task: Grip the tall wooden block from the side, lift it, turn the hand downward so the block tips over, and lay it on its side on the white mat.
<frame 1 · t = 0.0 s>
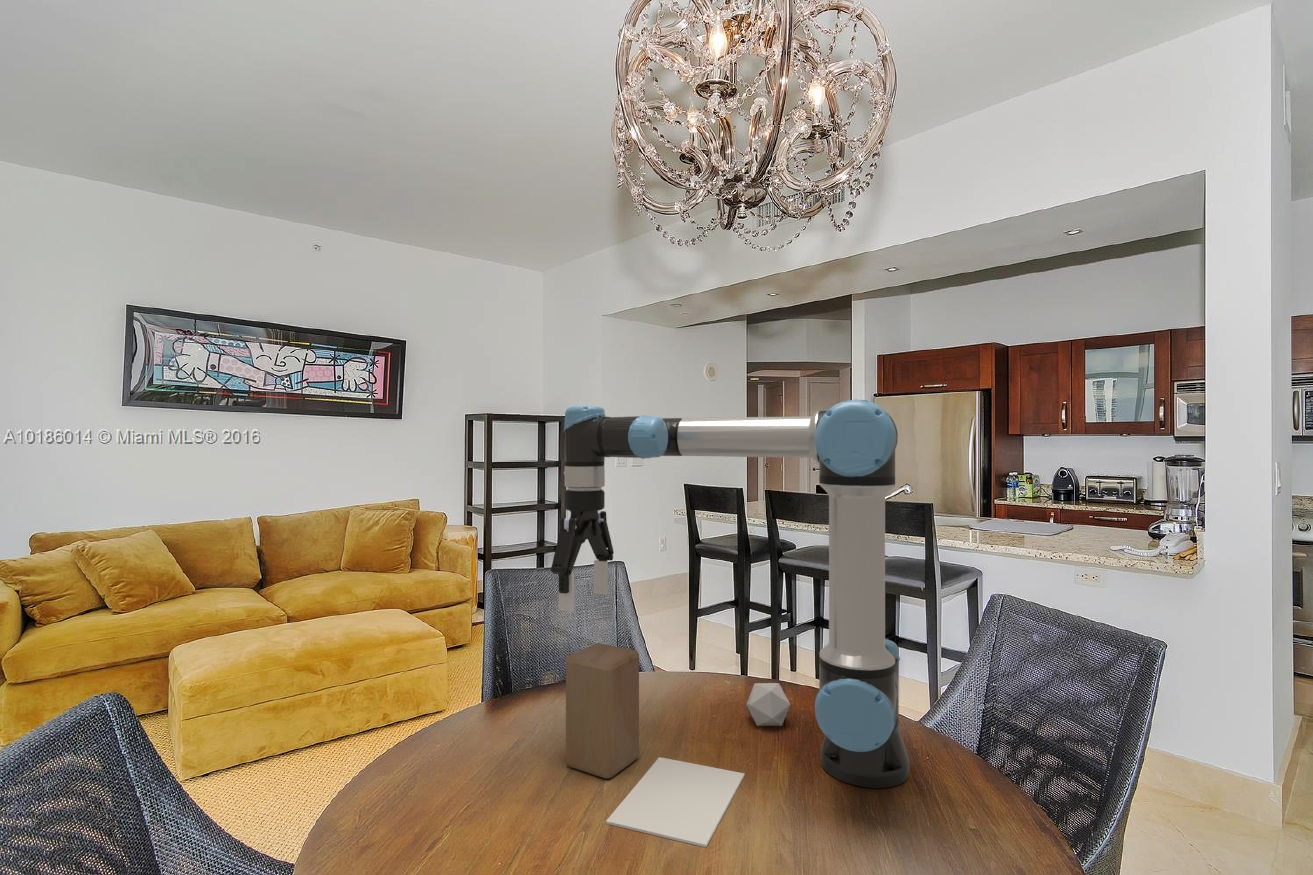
hand: (584, 602, 126), 28 cm above the table, tool pointing down, fingers open, 13 cm apart
wooden block: (602, 763, 121), on the table
white mat: (679, 798, 109), on the table
die: (768, 723, 138), on the table
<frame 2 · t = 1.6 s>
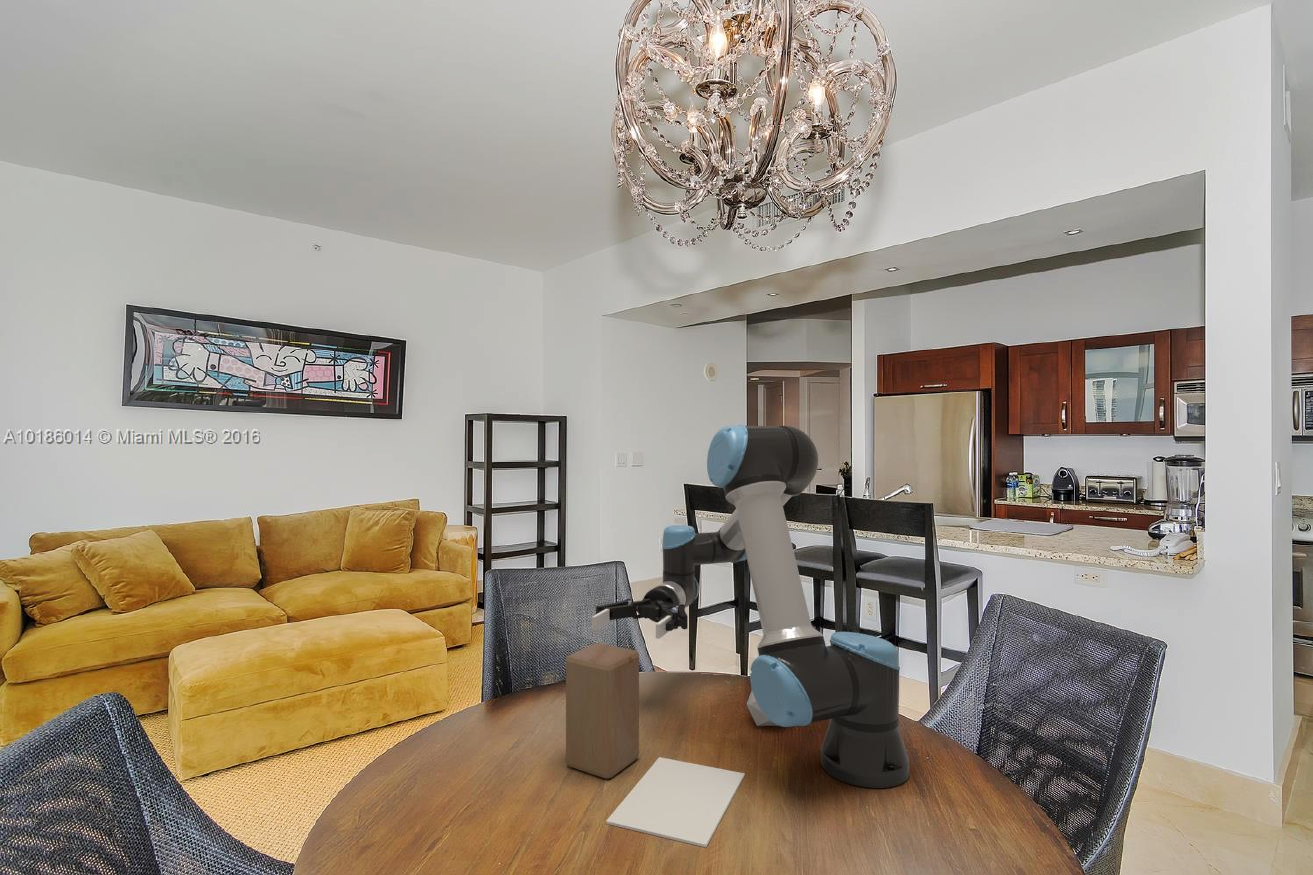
hand: (624, 627, 130), 22 cm above the table, tool horizontal, fingers open, 13 cm apart
nothing on the table moved.
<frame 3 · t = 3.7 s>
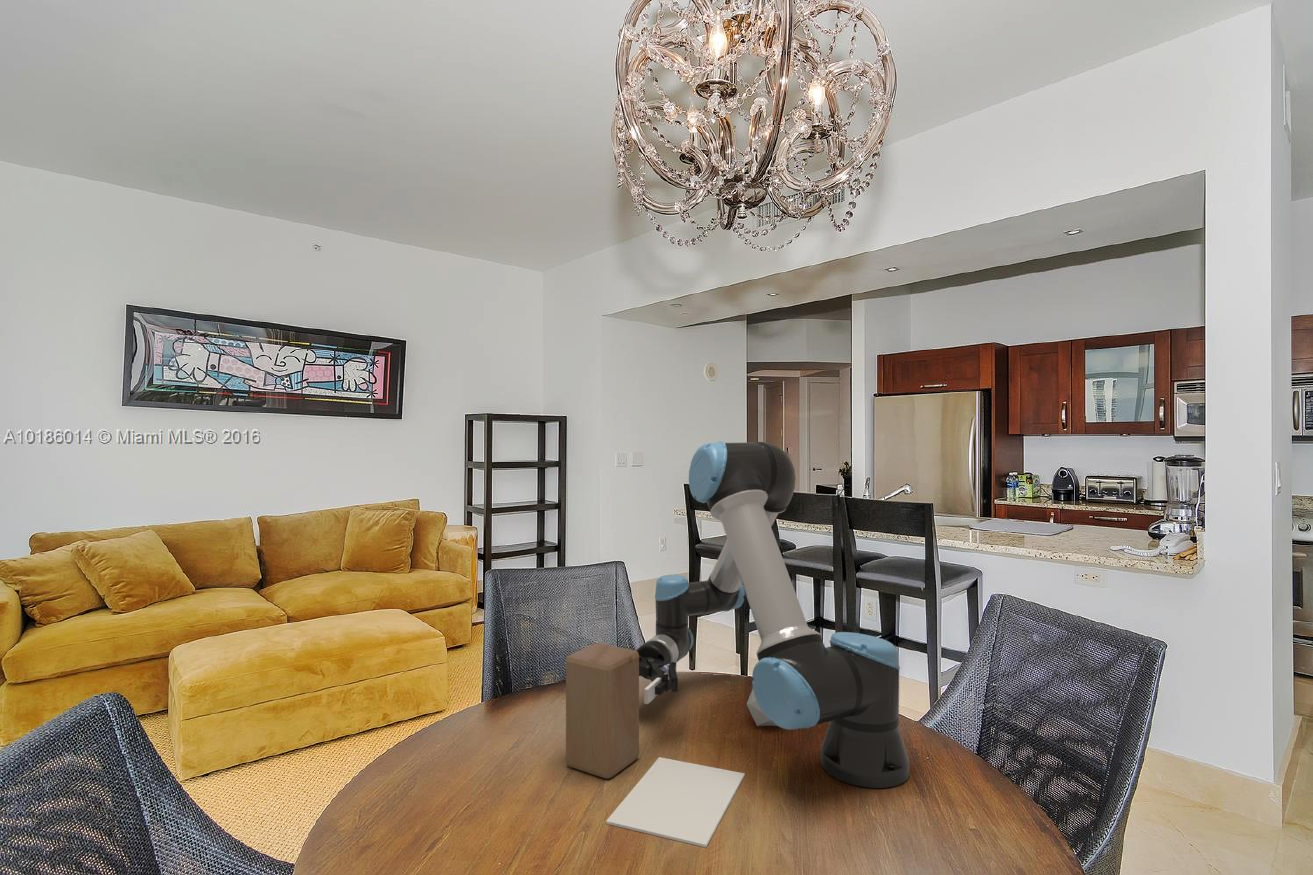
hand: (612, 691, 126), 11 cm above the table, tool horizontal, fingers open, 13 cm apart
nothing on the table moved.
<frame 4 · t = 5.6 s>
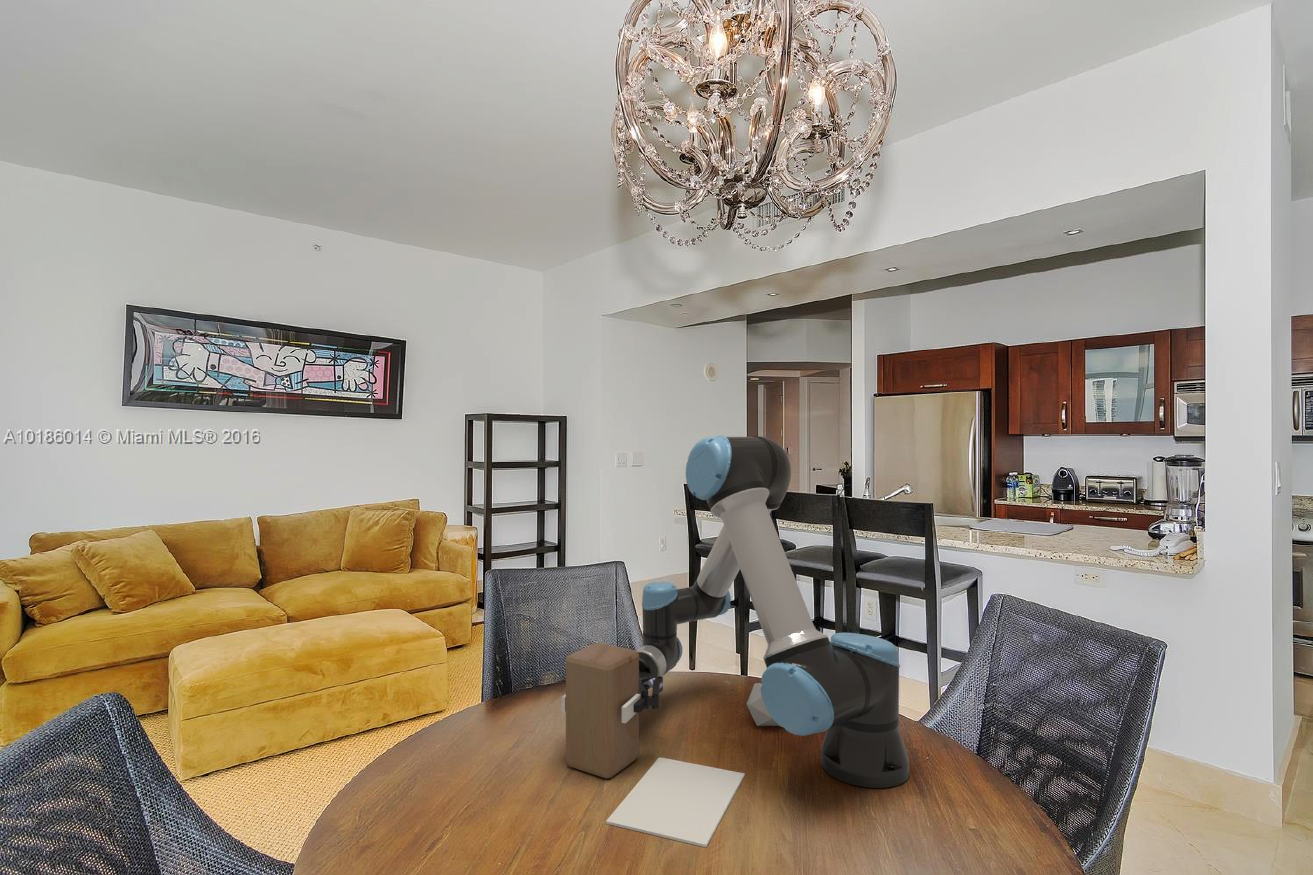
hand: (592, 709, 118), 11 cm above the table, tool horizontal, fingers closed on wooden block, 11 cm apart
wooden block: (602, 763, 121), on the table, touching gripper
everything else where it was.
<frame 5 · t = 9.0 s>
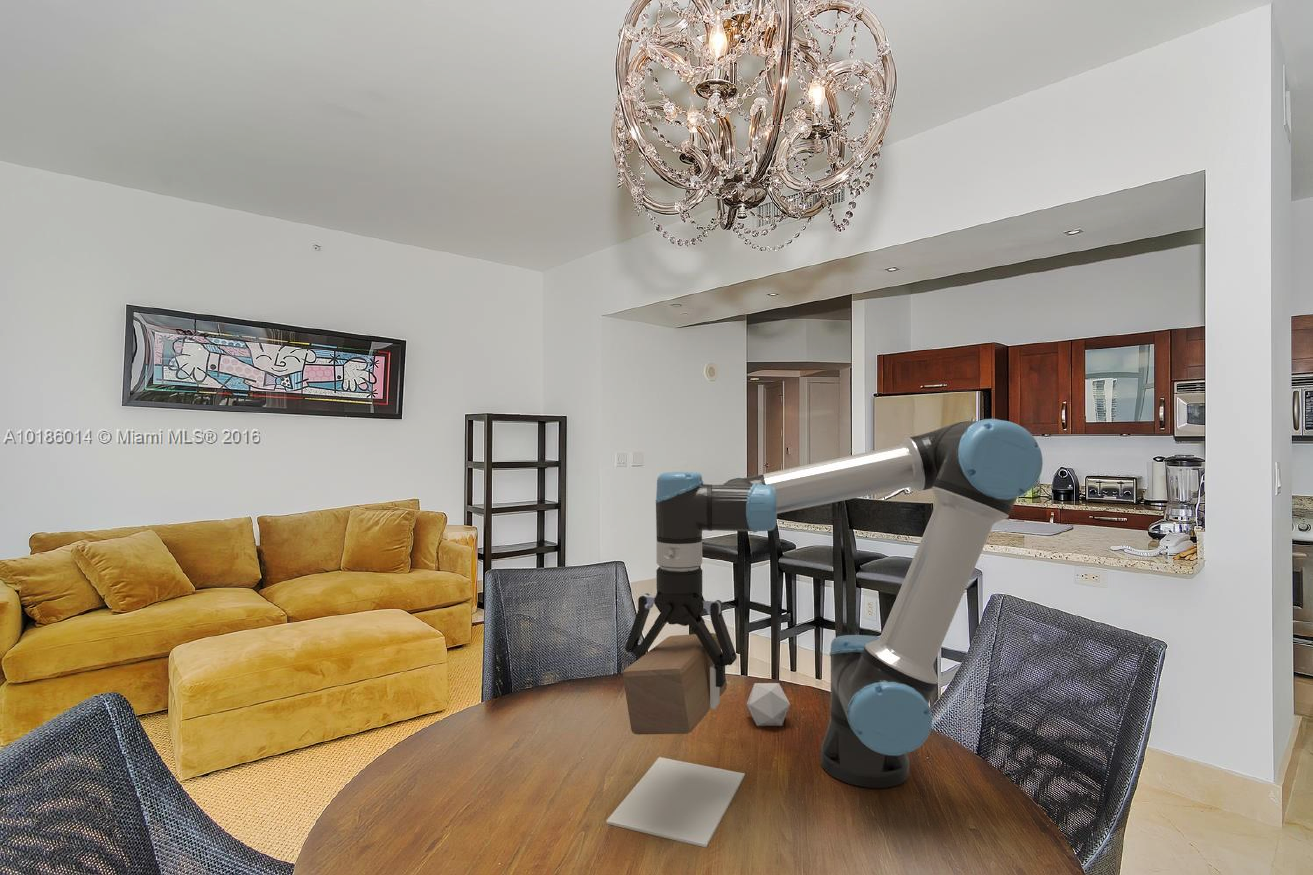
hand: (679, 700, 110), 16 cm above the table, tool pointing down, fingers closed on wooden block, 11 cm apart
wooden block: (654, 703, 99), point 20 cm above the table, touching gripper
everything else where it was.
when the fingers open (3 cm above the table, at t = 11.9 s): wooden block drops 1 cm, resting on white mat.
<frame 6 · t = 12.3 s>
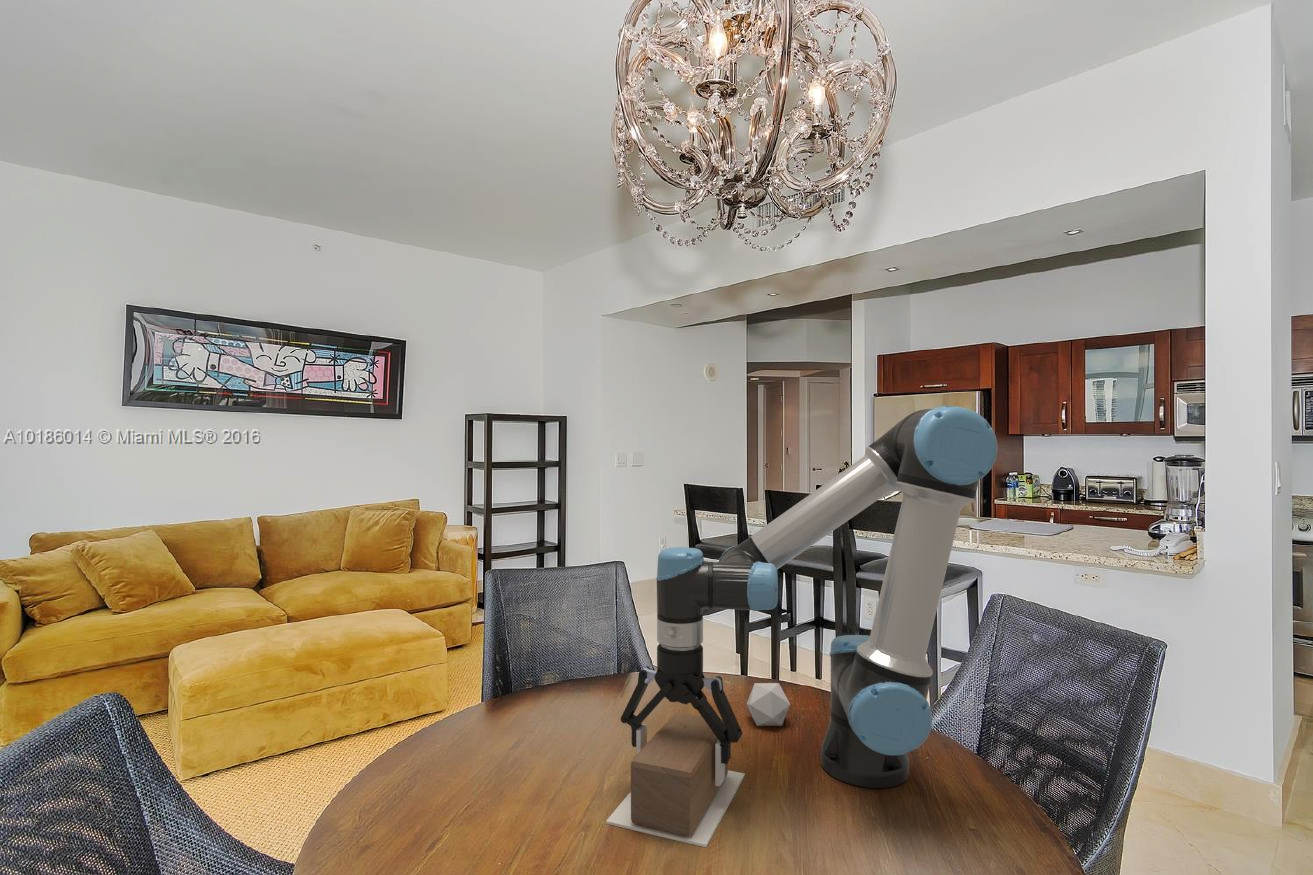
hand: (679, 774, 109), 4 cm above the table, tool pointing down, fingers open, 13 cm apart
wooden block: (658, 799, 99), point 5 cm above the table, touching white mat
everything else where it was.
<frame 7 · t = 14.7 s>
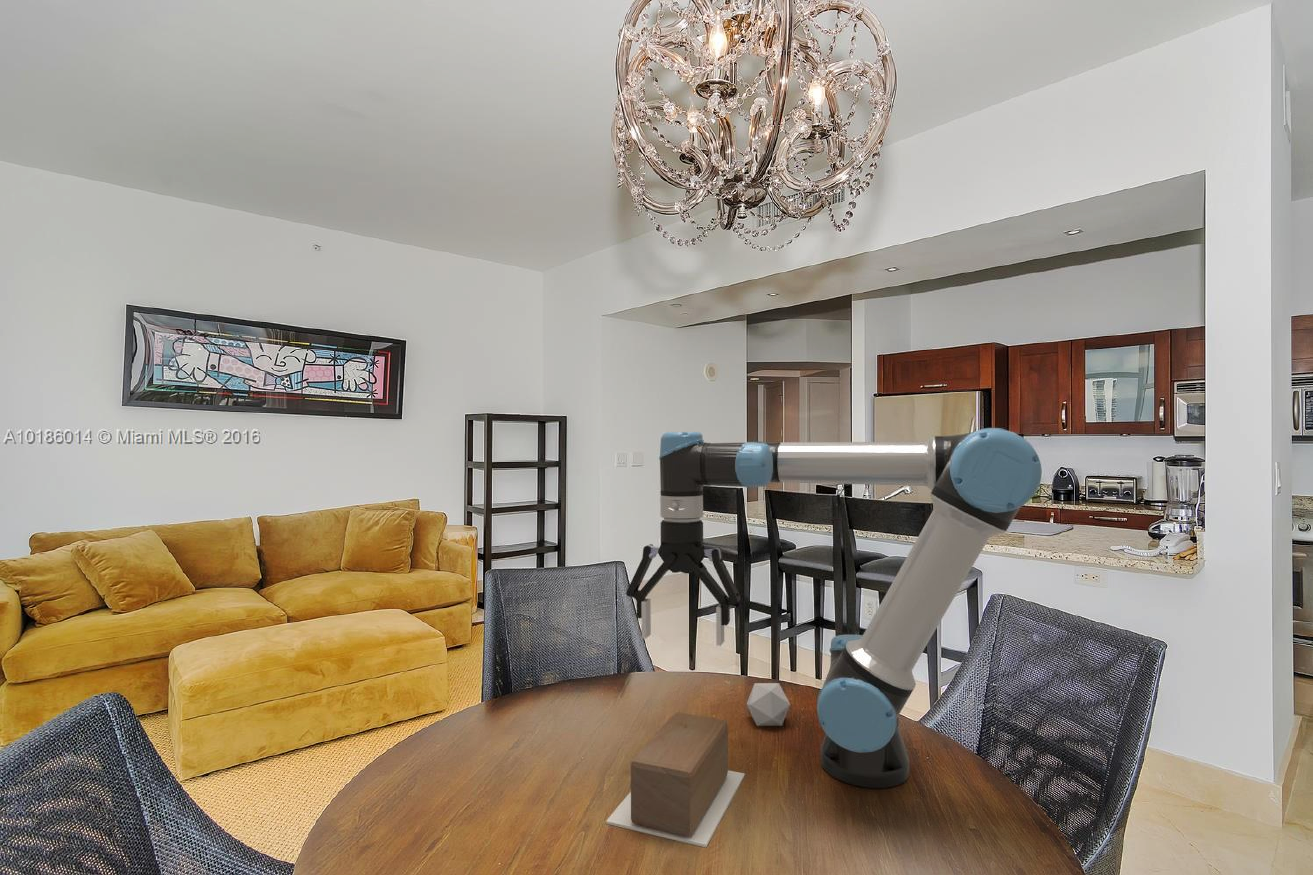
hand: (682, 640, 118), 23 cm above the table, tool pointing down, fingers open, 13 cm apart
nothing on the table moved.
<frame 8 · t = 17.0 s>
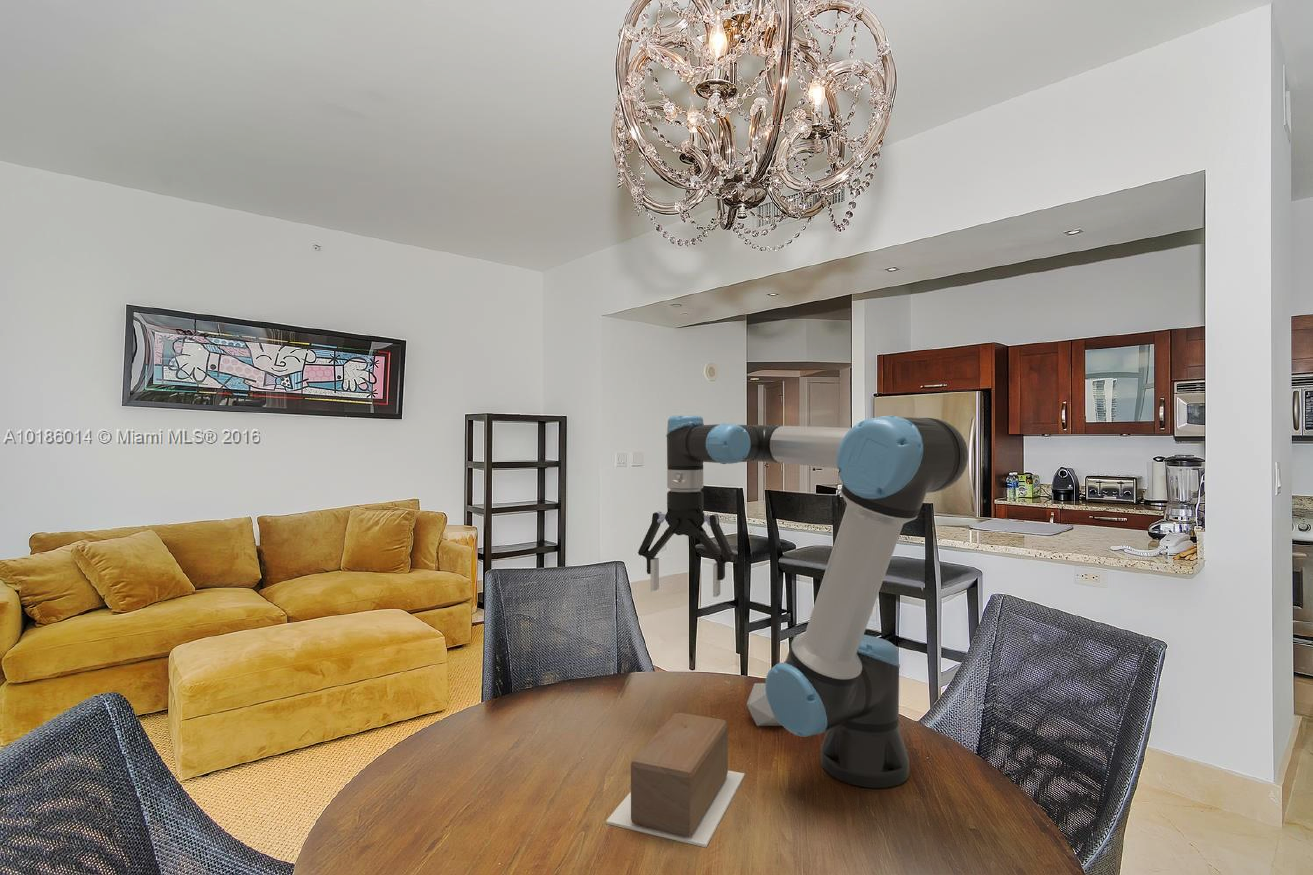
hand: (685, 592, 139), 27 cm above the table, tool pointing down, fingers open, 13 cm apart
nothing on the table moved.
at the end: wooden block tilted 90°; wooden block inside the target area on the white mat (11.1 cm from its centre), point 5.4 cm above the white mat's base; the gripper is holding nothing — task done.
